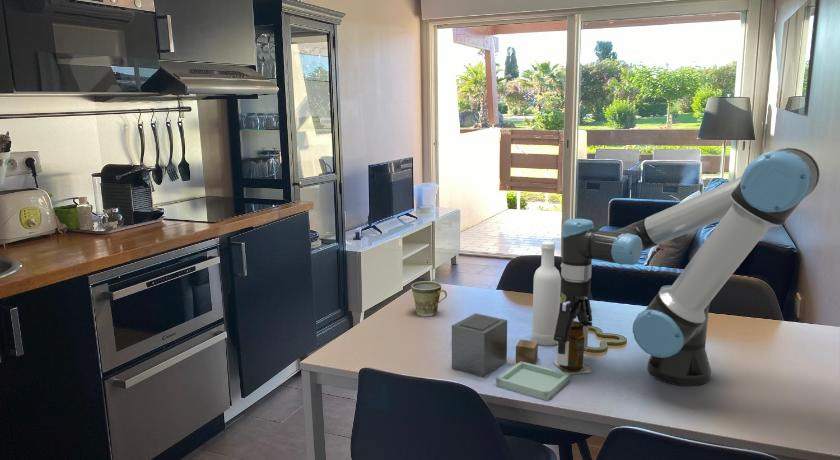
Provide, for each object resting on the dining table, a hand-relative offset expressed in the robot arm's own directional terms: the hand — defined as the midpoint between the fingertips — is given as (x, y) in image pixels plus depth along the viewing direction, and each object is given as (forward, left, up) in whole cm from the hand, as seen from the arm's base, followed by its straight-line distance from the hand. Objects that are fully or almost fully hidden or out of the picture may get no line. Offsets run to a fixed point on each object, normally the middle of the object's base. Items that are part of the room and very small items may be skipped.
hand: (572, 356), depth 167 cm
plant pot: (+19, -44, -3) cm, 48 cm away
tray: (+4, +15, -3) cm, 16 cm away
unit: (+21, +13, -3) cm, 25 cm away
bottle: (+14, -13, -3) cm, 19 cm away
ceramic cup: (+56, -13, -3) cm, 57 cm away
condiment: (0, 0, -3) cm, 3 cm away
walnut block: (+12, +3, -3) cm, 13 cm away
